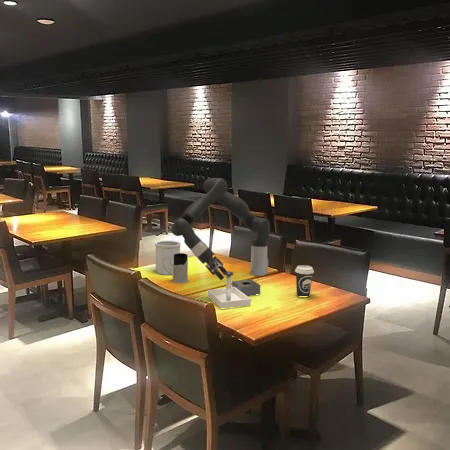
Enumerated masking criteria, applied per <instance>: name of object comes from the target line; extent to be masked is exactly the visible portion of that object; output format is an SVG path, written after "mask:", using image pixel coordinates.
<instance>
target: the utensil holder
mask: <svg viewBox="0 0 450 450" xmlns="http://www.w3.org/2000/svg"><path fill="white" fill-rule="evenodd" d="M181 245H182V244H181V241H178V240H173V239H172V240H171V239H165V240H164V239H162V240H157V241H155V242H154V246H155V272H156V274H158V275H166V276H171V275H170V274H172V275H173V265H171V264H174V254H177V253H181ZM165 257H169V258H170V259H169V258H165ZM164 258H165V259H164ZM163 259H164V260H163ZM170 260H171V264H170ZM163 264H164V267H165V269H166V270H167V271H168V272H169V273H170V274H169V273H168V272H167V271H166V270H165V269H164V267H163Z"/></svg>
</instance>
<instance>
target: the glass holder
mask: <svg viewBox="0 0 450 450" xmlns="http://www.w3.org/2000/svg"><path fill="white" fill-rule="evenodd" d="M165 258H169V257H165ZM165 258H164V259H165ZM164 259H163V260H164ZM169 259H170V258H169ZM188 261H189V260H188V254H187V253H183V252H182V253H181V252H180V253H177V254H174V264H171V260H170V264H171V265H173V274H170V273H169V272H168V271H167V270H166V269H165V267H164V264H163V267H164V269H165V270H166V271H167V272H168V273H169V274H170V275H169V276H172V282H173V283H174V284H180V285H182V284H187V283H189V279H188V277H189V276H188V274H189V273H188V270H189V266H188V265H189V262H188Z"/></svg>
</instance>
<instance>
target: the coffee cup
mask: <svg viewBox="0 0 450 450" xmlns="http://www.w3.org/2000/svg"><path fill="white" fill-rule="evenodd" d="M294 272H295V277H296V278H295V280H296V282H295V283H296V296H297V295H298V296H309V295H310V296H311V288H312V281H313V275H314V273H315V271H314V268H313V267H312V266H311V265H304V264H303V265H297V266H296V268H295V270H294ZM298 296H297V297H298ZM310 296H309V297H310Z"/></svg>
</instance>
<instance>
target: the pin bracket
mask: <svg viewBox="0 0 450 450" xmlns="http://www.w3.org/2000/svg"><path fill="white" fill-rule="evenodd" d="M231 287H236V288H237V289H238V290H240V291H241V292H242V293H244V294H245V295H246V296H248V297H250V295H254V296H257V295H256V294H260V295H261V284H259V283H257V282H256V281H255V280H253V279H251V278H250V279H242V280H231Z"/></svg>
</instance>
